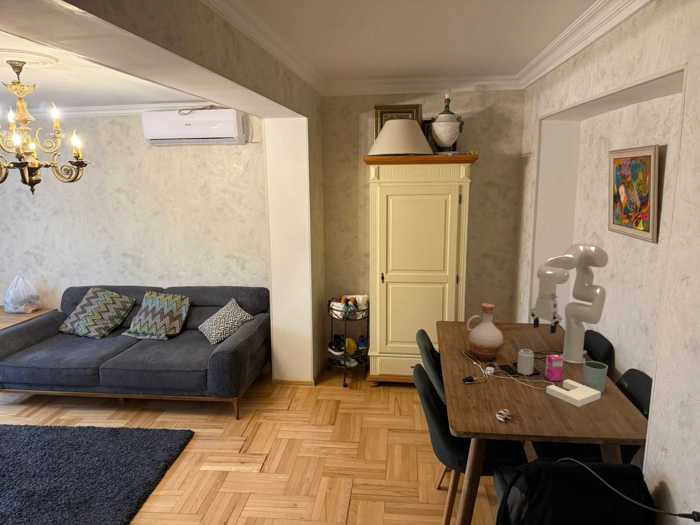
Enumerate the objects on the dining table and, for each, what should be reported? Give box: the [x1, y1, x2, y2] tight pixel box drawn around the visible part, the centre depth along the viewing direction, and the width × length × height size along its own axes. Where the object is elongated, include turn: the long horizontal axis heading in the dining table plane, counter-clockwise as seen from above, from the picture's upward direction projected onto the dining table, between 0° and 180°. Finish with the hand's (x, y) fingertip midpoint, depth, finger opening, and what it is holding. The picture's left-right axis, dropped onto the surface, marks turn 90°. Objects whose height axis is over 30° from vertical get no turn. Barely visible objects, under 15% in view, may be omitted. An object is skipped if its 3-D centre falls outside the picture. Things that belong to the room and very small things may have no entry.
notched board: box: [545, 378, 602, 408], centre depth 215 cm, size 16×16×3 cm
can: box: [516, 348, 535, 376], centre depth 239 cm, size 8×8×12 cm
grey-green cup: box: [582, 360, 609, 394], centre depth 221 cm, size 10×10×12 cm
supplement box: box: [544, 354, 564, 383], centre depth 232 cm, size 6×6×12 cm
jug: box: [466, 302, 504, 361], centre depth 259 cm, size 20×18×30 cm
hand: (544, 330), depth 230 cm, fingers open, 9 cm apart
